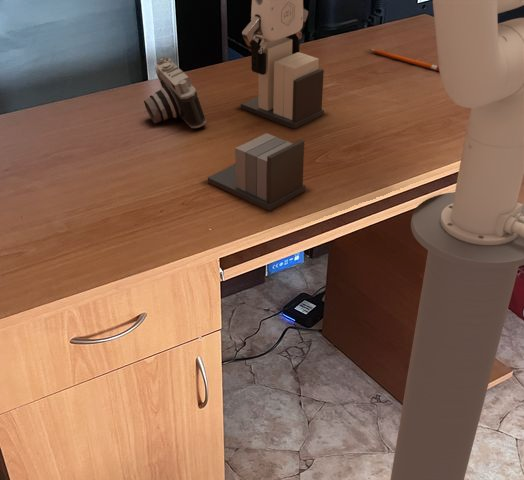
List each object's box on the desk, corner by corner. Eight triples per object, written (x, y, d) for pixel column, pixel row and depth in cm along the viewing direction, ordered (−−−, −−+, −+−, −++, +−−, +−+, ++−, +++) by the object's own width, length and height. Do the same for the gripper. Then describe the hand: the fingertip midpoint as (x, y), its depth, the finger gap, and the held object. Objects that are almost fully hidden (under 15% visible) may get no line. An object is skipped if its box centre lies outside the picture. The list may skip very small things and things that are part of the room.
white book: (290, 100, 157) (292, 39, 149) (267, 111, 153) (268, 48, 145) (281, 97, 158) (282, 36, 151) (258, 107, 154) (258, 45, 147)
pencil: (438, 71, 171) (439, 67, 171) (367, 51, 181) (367, 47, 180) (440, 70, 172) (441, 66, 171) (369, 50, 181) (369, 46, 181)
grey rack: (305, 191, 131) (307, 140, 125) (269, 211, 126) (269, 159, 120) (244, 164, 138) (243, 115, 132) (207, 182, 133) (205, 132, 127)
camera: (142, 113, 158) (124, 67, 151) (180, 95, 159) (163, 49, 152) (169, 144, 147) (151, 97, 140) (209, 124, 149) (193, 76, 142)
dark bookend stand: (323, 114, 154) (327, 58, 147) (294, 129, 149) (295, 71, 142) (270, 95, 162) (271, 41, 154) (240, 108, 156) (239, 52, 149)
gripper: (259, -17, 133) (259, 83, 144) (323, -37, 143) (319, 58, 154) (227, -25, 137) (230, 73, 148) (292, -44, 147) (290, 49, 158)
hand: (275, 65), depth 151 cm, fingers open, 9 cm apart
